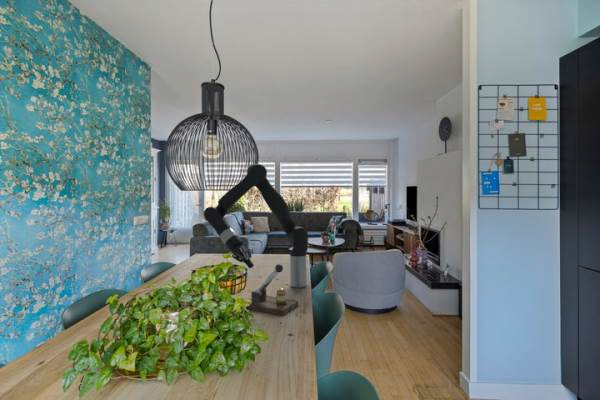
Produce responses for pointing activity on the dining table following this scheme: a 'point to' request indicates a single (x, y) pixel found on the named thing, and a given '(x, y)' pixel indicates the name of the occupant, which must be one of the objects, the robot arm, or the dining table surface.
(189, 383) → the dining table surface
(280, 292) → the tan rounded cylinder
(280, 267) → the lever
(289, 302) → the press base
